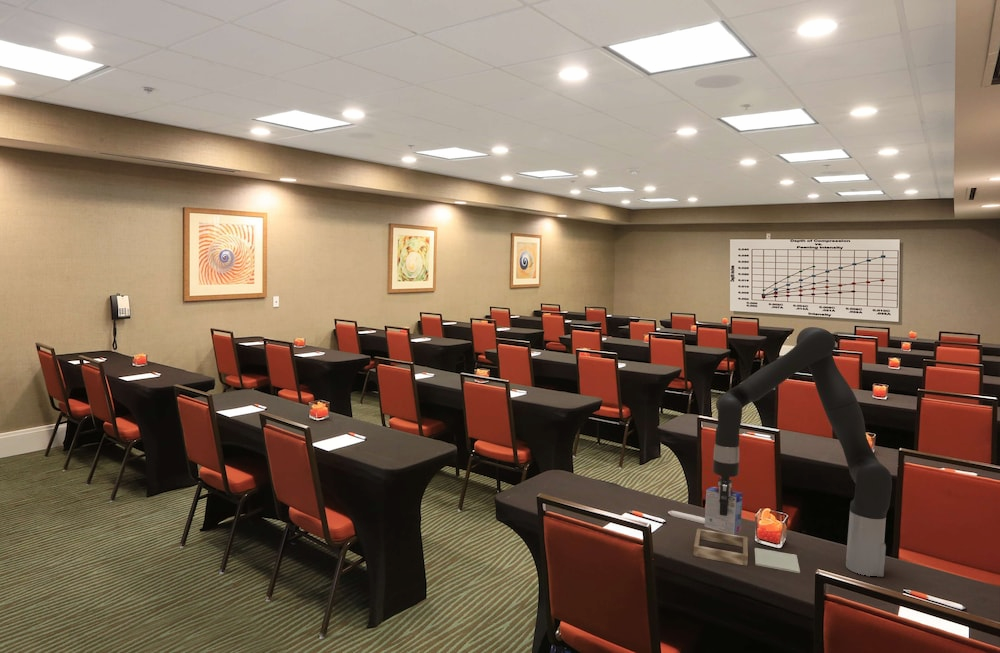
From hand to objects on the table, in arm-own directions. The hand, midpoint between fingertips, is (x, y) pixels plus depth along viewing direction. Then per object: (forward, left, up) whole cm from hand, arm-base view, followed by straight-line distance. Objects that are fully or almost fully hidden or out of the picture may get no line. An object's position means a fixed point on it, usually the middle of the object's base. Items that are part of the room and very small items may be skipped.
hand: (723, 511), depth 190 cm
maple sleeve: (0, 0, -13) cm, 13 cm away
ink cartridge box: (0, 0, -6) cm, 6 cm away
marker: (+10, -23, -13) cm, 28 cm away
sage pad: (-16, 0, -13) cm, 20 cm away
